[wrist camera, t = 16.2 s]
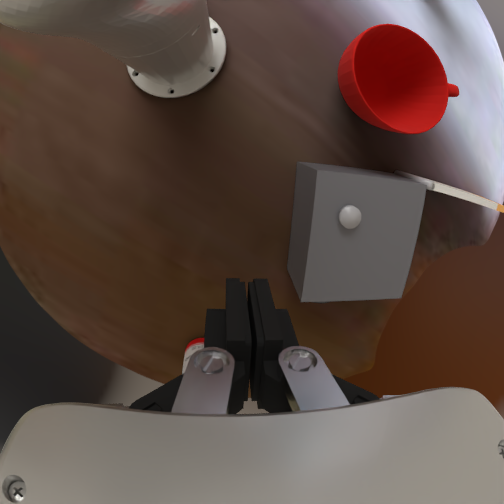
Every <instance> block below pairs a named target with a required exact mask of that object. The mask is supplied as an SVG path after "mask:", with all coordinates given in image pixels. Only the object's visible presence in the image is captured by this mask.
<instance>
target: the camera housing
mask: <svg viewBox="0 0 504 504" xmlns="http://www.w3.org/2000/svg"><path fill="white" fill-rule="evenodd" d="M426 188H427V185H426V184H423V183H420V182H417V181H414V180H411V179H408V178H405V177H402V176H399V175H396V174H393V173H389V172H382V171H375V170H368V169H361V168H353V167H345V166H337V165H327V164H318V163H307V162H297V169H296V181H295V192H294V204H293V214H292V225H291V235H290V244H289V254H288V263H287V270H288V272H289V275H290V277H291V279H292V282H293V284H294V287H295V289H296V291H297V294H298V296H299V299H300V301H301V302H315V303H328V302H331V301H354V300H375V299H393V298H401V297H402V293H403V290H404V287H405V283H406V280H407V276H408V272H409V269H410V265H411V261H412V257H413V253H414V249H415V245H416V240H417V236H418V231H419V227H420V222H421V217H422V211H423V206H424V200H425V194H426Z"/></svg>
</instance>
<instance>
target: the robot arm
mask: <svg viewBox="0 0 504 504" xmlns="http://www.w3.org/2000/svg"><path fill="white" fill-rule="evenodd" d="M0 23H2V24H4V25H6V26H9V27H12V28H15V29H18V30H22V31H26V32H30V33H35V34H42V35H51V36H63V37H74V38H78V39H82V40H84V41H87V42H89V43H91V44H93V45H95V46H97V47H98V48H100V49H102V50H103V51H105V52H106V53H108V54H110V55H111V56H113V57H115V58H116V59H118V60H120V61H121V62H123V63H124V64H126V65H127V69H128V73H129V75H130V77H131V79H132V80H133V81H134V83H135V84H136V85H137V86H138V87H139V88H141V89H142V90H143V91H145V92H147V93H149V94H151V95H154V96H157V97H162V98H178V97H184V96H187V95H190V94H193V93H195V92H197V91H199V90H200V89H202V88H204V87H205V86H206V85H208V84H209V83H210V82H211V81H212V80H213V79H214V78H215V77H216V76H217V74H218V73H219V71H220V70H221V68H222V65H223V63H224V61H225V56H226V40H225V36H224V34H223V31H222V29H221V28H220V26H219V25H218V24H217V23H216V22H215V21H214V20H213V19H212V18H211V17H209V14H208V8H207V1H206V0H0ZM215 31H216V32H217V33H215V34H214V33H213V32H215ZM211 69H214V72H210V70H211ZM137 73H139V74H138V76H136V74H137ZM172 90H174V93H173V94H171V91H172ZM249 380H250V389H251V399H252V401H257V405H258V409H265V410H266V411H268V412H269V413H263V414H236V413H238V412H239V411H240V410H241V409H242V408H243V404H244V401H247V400H248V388H249ZM0 504H504V420H503V418H502V417H501V415H500V414H499V413H498V412H497V410H496V409H495V408H494V407H493V405H492V404H491V403H490V402H489V401H488V400H487V399H486V398H485V397H484V396H483V395H482V394H480V393H479V392H477V391H475V390H472V389H468V388H459V387H444V388H443V387H442V388H435V389H429V390H424V391H419V392H415V393H409V394H404V395H396V396H395V395H393V396H391V395H387V396H382V398H381V399H379V398H378V397H377V396H376V395H374V394H373V393H371V392H368V391H366V390H364V389H362V388H360V387H358V386H356V385H353V384H351V383H349V382H347V381H345V380H343V379H341V378H339V377H336V376H334V375H332V374H331V373H330V371H329V369H328V368H327V366H326V365H325V363H324V361H323V360H322V358H321V357H320V355H319V354H318V353H317V352H316V351H314V350H313V349H310V348H308V347H303V346H299V344H298V341H297V338H296V335H295V332H294V329H293V326H292V323H291V319H290V316H289V313H288V311H287V309H275V306H274V302H273V299H272V295H271V291H270V287H269V284H268V280H267V279H253V282H249V283H248V297H247V298H246V290H245V282H240V280H239V278H226V309H207V313H206V324H205V336H204V348H202V349H200V350H197V351H196V352H194V353H193V354H192V355H191V357H190V359H189V362H188V364H187V367H186V370H185V373H183V374H182V375H180V376H178V377H177V378H175V379H173V380H171V381H170V382H168V383H166V384H164V385H163V386H161V387H159V388H158V389H156V390H154V391H152V392H150V393H149V394H147V395H145V396H143V397H141V398H140V399H138V400H136V401H135V402H134V403H132V404H131V406H127V407H126V406H125V407H124V406H123V404H87V403H56V404H47V405H43V406H39V407H36V408H34V409H31V410H30V411H28V412H27V413H26V414H25V415H24V416H23V417H22V418H21V419H20V420H19V421H18V423H17V424H16V426H15V427H14V429H13V430H12V432H11V434H10V435H9V437H8V439H7V441H6V443H5V445H4V447H3V450H2V452H1V454H0Z"/></svg>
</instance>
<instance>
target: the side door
mask: <svg viewBox="0 0 504 504" xmlns="http://www.w3.org/2000/svg"><path fill="white" fill-rule="evenodd" d="M394 174H396V175H399V176H402V177H405V178H408V179H411V180H414V181H417V182H420V183H423V184H426V185H427V188H426V189H428V190H434V191H437V192H441V193H444V194H448V195H451V196H454V197H458V198H461V199H464V200H467V201H471V202H474V203H477V204H480V205H483V206H486V207H489V208H491V209H494V210H497V211H500V212H503V213H504V206H503V205H501V204H499V203H496V202H494V201H491V200H489V199H486V198H484V197H481V196H478V195H476V194H473V193H470V192H467V191H464V190H461V189H458V188H455V187H452V186H449V185H446V184H443V183H439V182H436V181H433V180H429V179H426V178H422V177H419V176H416V175H413V174H409V173H406V172H403V171H399V170H395V171H394Z"/></svg>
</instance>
